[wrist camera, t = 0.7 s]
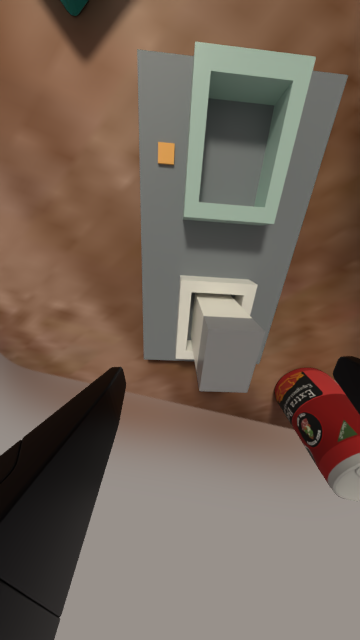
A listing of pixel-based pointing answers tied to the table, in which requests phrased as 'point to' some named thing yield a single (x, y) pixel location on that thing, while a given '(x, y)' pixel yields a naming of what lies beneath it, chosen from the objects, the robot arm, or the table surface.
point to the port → (253, 87)
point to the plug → (224, 343)
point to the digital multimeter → (74, 6)
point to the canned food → (324, 426)
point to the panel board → (217, 193)
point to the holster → (199, 284)
